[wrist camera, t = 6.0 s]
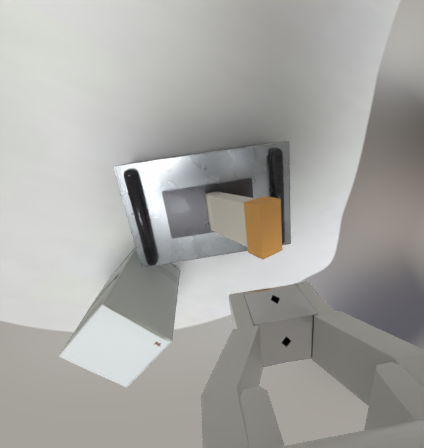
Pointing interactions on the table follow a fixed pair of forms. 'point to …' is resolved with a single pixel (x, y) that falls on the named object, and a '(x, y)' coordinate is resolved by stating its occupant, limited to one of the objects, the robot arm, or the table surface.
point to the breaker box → (198, 198)
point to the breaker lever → (247, 221)
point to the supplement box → (127, 322)
